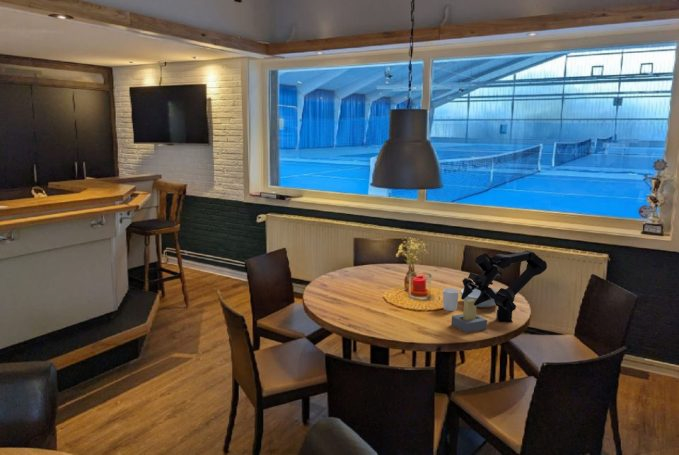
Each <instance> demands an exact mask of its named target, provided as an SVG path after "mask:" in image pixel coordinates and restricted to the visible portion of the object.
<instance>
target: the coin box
mask: <svg viewBox="0 0 679 455" xmlns="http://www.w3.org/2000/svg"><path fill="white" fill-rule="evenodd" d="M487 325H488V319H486V318H484V317H482V316H481V315H478V314H476V319H474V320H468V321H464V320H463V313H460V314H455V315H452V316H451V326H453V327H455V328H456V329H458V330H460V331H462V332H463V333H466V334H467V333H473V332H478V331H482V330H487V328H488V327H487Z"/></svg>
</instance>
